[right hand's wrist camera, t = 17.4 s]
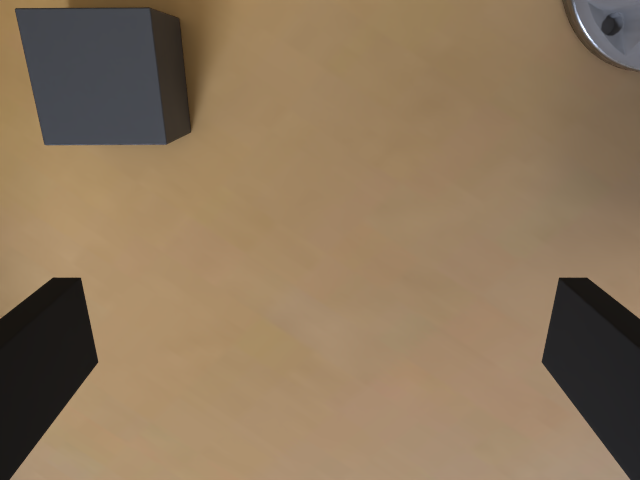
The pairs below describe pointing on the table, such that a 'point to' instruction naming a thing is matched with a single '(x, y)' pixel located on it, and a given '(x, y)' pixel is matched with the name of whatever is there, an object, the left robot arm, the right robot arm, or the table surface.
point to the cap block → (106, 75)
